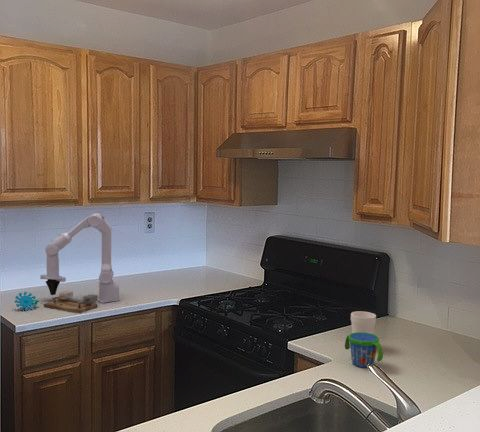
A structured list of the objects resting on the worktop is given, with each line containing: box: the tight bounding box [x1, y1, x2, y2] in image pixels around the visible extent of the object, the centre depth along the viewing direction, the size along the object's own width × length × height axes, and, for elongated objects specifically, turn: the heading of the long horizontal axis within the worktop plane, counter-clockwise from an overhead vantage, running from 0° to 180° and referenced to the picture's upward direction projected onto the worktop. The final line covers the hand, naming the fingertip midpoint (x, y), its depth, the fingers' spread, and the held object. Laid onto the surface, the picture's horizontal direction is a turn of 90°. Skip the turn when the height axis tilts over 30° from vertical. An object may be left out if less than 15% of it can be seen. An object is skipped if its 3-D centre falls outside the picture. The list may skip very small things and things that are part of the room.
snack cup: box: [344, 332, 384, 368], centre depth 191 cm, size 16×10×10 cm
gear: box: [14, 291, 40, 312], centre depth 253 cm, size 11×6×10 cm
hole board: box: [43, 299, 98, 314], centre depth 256 cm, size 12×22×2 cm, turn 65°
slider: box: [52, 290, 74, 303], centre depth 259 cm, size 11×4×4 cm, turn 155°
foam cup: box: [350, 310, 377, 334], centre depth 208 cm, size 10×9×13 cm
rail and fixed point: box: [56, 294, 98, 307], centre depth 257 cm, size 11×21×4 cm, turn 65°
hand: (53, 294), depth 266 cm, fingers closed
